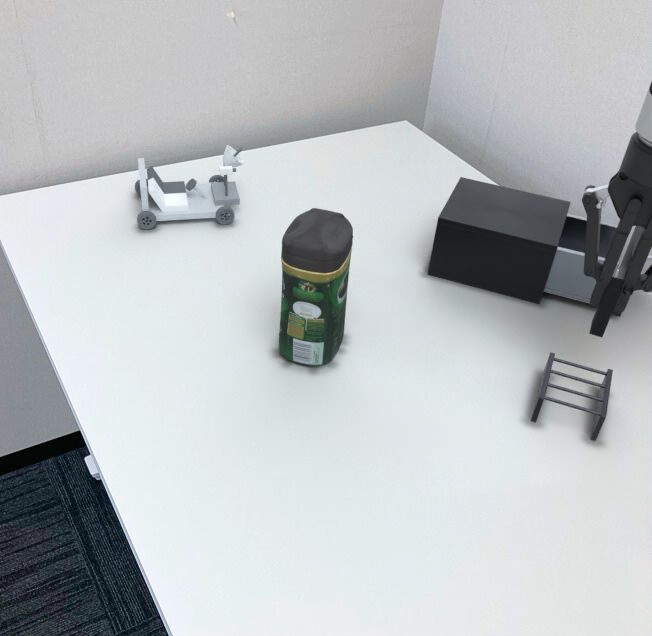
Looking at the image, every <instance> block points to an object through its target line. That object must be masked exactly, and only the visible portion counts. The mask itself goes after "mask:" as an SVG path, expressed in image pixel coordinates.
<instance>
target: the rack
mask: <svg viewBox="0 0 652 636" xmlns="http://www.w3.org/2000/svg"><path fill="white" fill-rule="evenodd" d="M555 356H556V352H555V353H554V352H552V351H550V352H549V355H548V358H547V361H546V363H545V366H544V368H543V369H544V370H543V372H542V375H541V379H540V384H539V387H538V390H537V393H536V394H537V395H536V398H535V403H534V407H533V410H532V414H531V417H530V422H532V423H537V420H538V418H539V415H540V411H541V409H542V406H543V403H544V401H548V402H553V403H554V404H555V403H556V404H559V405H562V406H565V407H568V408H572V409H574V410H575V409H576V410H579V411H582V412H585V413H589V414H592V415H593V421H592V428H591V434H590V440H591V441H595V442H596V441H597V439H598V437H599V435H600V431H601V430H602V427H603V426H604V423H605V421H606V419H607V413H608V407H609V400H610V394H611V386H612V379H613V372H614V370H613V369H611V368H607V370H606V371H603V370H600V369H595V368H592V367H590V366H589V367H588V366H585V365H582V364H577V363H574V362H571V361H567V360H565V359H561V358H557V357H555ZM554 362H556V363H560V364H563V365H567V366H571V367H573V368H577V369H581V370H583V371H588V372H592V373H594V374H595V373H596V374H599V375H602V376H604V377H603V379H602V382H601V383H599V382H595V381H592V380H588V379H585V378H581V377H578V376H574V375H572V374H568V373H564V372H560V371H557V370H555V369H554V370H553V369H552V368H553V365H554ZM551 374H552V375H556V376H560V377H563V378H567V379H570V380H573V381H577V382H580V383H584V384H586V385H587V384H588V385H590V386H591V385H592V386H595V387H598V388H599V389H598V392H597V396H595V395H592V394H588V393H586V392H585V393H584V392H582V391H578V390H574V389H571V388H568V387H563V386H560V385H558V384H555V383H550V382H549V380H550V377H551ZM548 387H550V388H552V389H556V390H559V391H563V392H566V393H570V394H573V395H577V396H580V397H583V398H587V399H589V400H593V401H596V402H595V410H594V409H591V408H586V407H583V406H580V405H577V404H574V403H570V402H566V401H564V400H560V399H557V398H554V397H550V396H546V393H547V389H548Z"/></svg>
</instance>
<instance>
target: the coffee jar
mask: <svg viewBox="0 0 652 636" xmlns="http://www.w3.org/2000/svg"><path fill="white" fill-rule="evenodd" d="M353 233H354V228H353V226H352V224H351V222H350V221H349V219H348V218H347V217H346V216H345V215H344V214H343V213H341V212H338V211H333V210H328V209H322V208H316V207H312V208H311V209H309V210H306V211H303V212H302V213H300V214H299V215H297V216H296V217H295V218H294V219H293V220H292V221H291V222H290V224H289V226H288V227H287V228H286V230H285V232H284V234H283V236H282V239H281V255H280V262H281V297H280V298H281V299H280V316H279V317H280V318H279V333H278V351H279V353H280V355H282V357H284V358H285V359H286V360H287V361H290V362H292V363H294V364H297V365H301V366H306V367H321V366H325V365H328V364H330V363H331V362H332V361H333V359H334V358H335V357H336V356H337V354H338V352H339V350H340V348H341V345H342V342H343V340H344V336H345V325H346V310H347V300H348V287H349V277H350V268H351V259H352V252H353V251H352V250H353V241H354V234H353Z"/></svg>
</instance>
